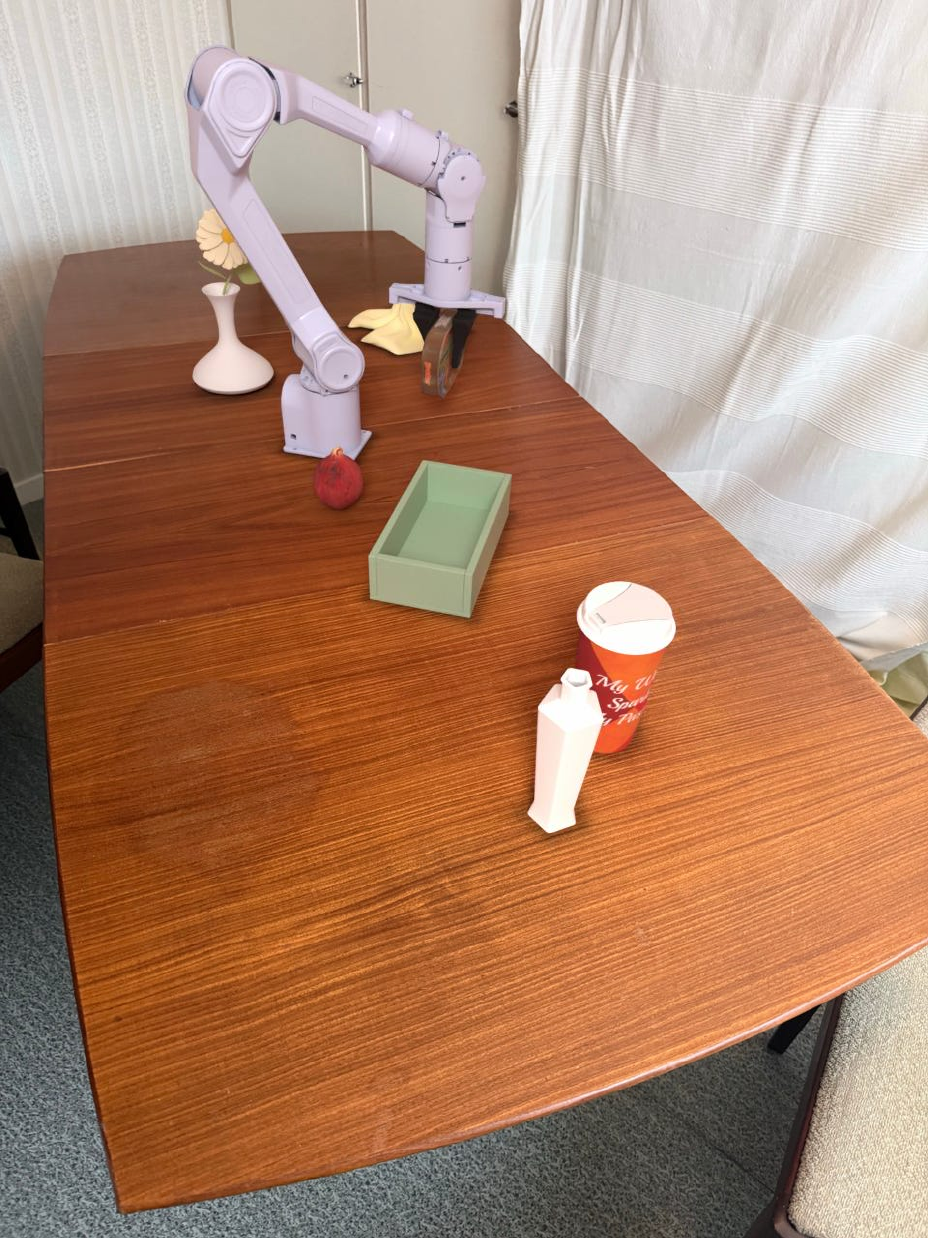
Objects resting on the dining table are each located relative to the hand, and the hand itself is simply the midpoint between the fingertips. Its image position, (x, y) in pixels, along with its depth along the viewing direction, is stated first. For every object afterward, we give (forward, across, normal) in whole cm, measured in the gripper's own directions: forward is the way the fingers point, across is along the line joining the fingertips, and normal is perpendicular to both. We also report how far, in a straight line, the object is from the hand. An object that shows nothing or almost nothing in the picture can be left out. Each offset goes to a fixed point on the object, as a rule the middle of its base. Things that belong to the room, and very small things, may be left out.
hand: (444, 363), depth 109 cm
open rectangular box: (+9, -8, +29) cm, 31 cm away
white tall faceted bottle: (+9, -25, +60) cm, 66 cm away
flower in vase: (+9, +31, -2) cm, 32 cm away
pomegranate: (+9, +6, +24) cm, 26 cm away
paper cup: (+9, -28, +50) cm, 58 cm away
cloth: (+9, +14, -30) cm, 35 cm away
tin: (+3, 0, 0) cm, 3 cm away
